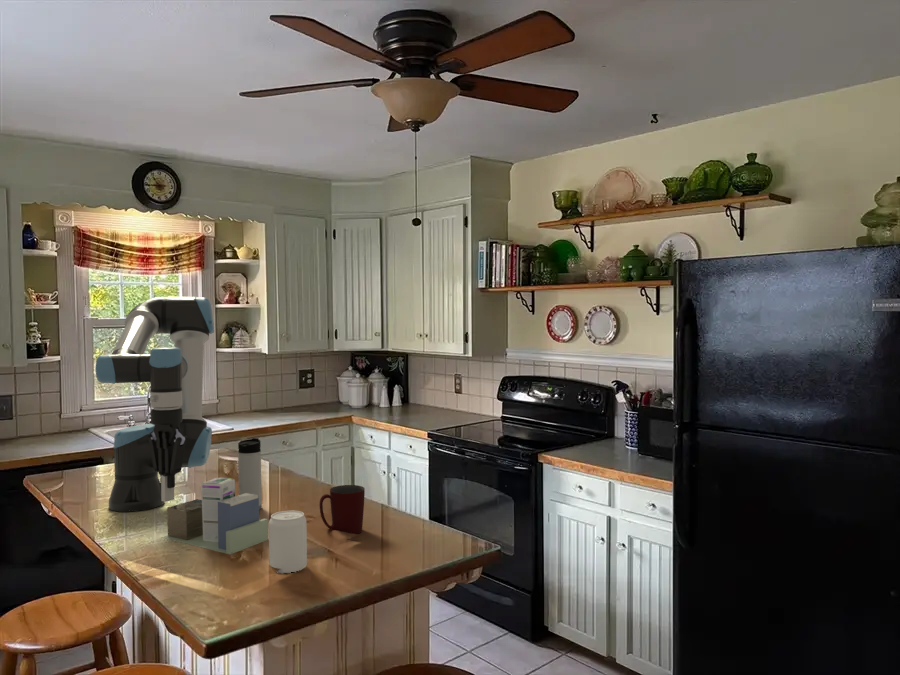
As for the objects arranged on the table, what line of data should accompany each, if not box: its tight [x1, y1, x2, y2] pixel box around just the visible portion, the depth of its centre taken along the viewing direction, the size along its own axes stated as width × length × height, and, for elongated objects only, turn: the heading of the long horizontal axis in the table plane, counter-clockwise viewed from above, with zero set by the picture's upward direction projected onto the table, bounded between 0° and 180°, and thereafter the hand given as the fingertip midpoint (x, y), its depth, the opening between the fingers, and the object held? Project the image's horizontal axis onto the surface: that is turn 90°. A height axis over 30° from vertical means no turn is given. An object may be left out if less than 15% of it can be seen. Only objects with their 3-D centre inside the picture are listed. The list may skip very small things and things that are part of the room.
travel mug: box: [237, 437, 263, 510], centre depth 203 cm, size 6×7×20 cm
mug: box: [319, 484, 366, 535], centre depth 181 cm, size 12×9×11 cm
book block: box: [218, 493, 260, 550], centre depth 167 cm, size 4×9×11 cm, turn 149°
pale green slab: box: [160, 518, 269, 555], centre depth 172 cm, size 24×12×6 cm, turn 59°
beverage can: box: [268, 510, 308, 574], centre depth 155 cm, size 8×8×12 cm
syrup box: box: [200, 477, 236, 543], centre depth 171 cm, size 6×6×14 cm
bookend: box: [166, 499, 203, 540], centre depth 176 cm, size 7×9×7 cm
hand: (167, 500), depth 180 cm, fingers closed
